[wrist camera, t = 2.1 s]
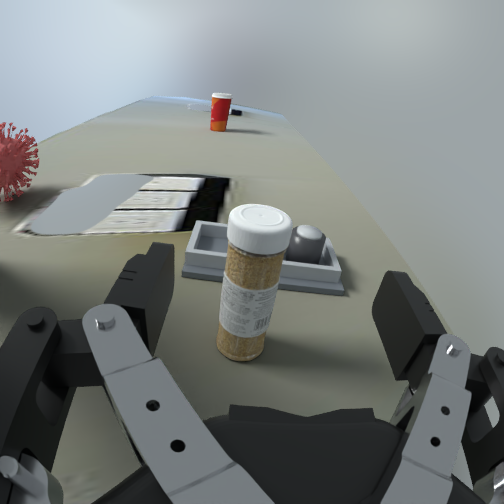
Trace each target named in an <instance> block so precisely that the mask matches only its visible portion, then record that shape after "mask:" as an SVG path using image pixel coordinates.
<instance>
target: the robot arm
mask: <svg viewBox="0 0 504 504" xmlns="http://www.w3.org/2000/svg"><path fill="white" fill-rule="evenodd" d="M173 289H174V245H173V244H166V243H158V242H153V243H152V245H151V247H150V248H149V250H148V252H147V254H146V255H143V254H137V255H135V256H134V257H133V258H131V259H130V260H128V261H127V263H126V265H125V267H124V268H123V271H122V272H121V273H120V275H119V277H118V279H117V280H116V282H115V284H114V286H113V287H112V289H111V291H110V293H109V295H108V296H107V298H106V300H105V302H104V304H101V305H98V306H95V307H93V308H91V309H90V310H88V311H87V312H86V314H85V315H84V317H83V319H78V320H62V321H58V320H57V317H56V314H55V313H54V312H53V311H52V310H51V309H49V308H46V307H35V308H32V309H29V310H27V311H25V312H24V313H23V314H22V315H21V316H20V317H19V318H18V320H17V321H16V323H15V324H14V326H13V328H12V329H11V331H10V333H9V334H8V336H7V338H6V339H5V341H4V343H3V344H2V346H1V348H0V504H63V490H62V487H61V484H60V483H59V481H58V480H57V479H56V478H55V477H54V476H53V475H52V474H51V471H52V467H53V463H54V459H55V456H56V452H57V448H58V445H59V441H60V438H61V434H62V431H63V428H64V425H65V421H66V418H67V415H68V412H69V409H70V406H71V403H72V400H73V397H74V394H75V391H76V388H77V387H84V386H102V387H103V390H104V392H105V394H106V396H107V399H108V401H109V403H110V405H111V408H112V410H113V412H114V414H115V416H116V418H117V420H118V422H119V424H120V426H121V428H122V431H123V433H124V435H125V437H126V439H127V441H128V443H129V445H130V447H131V449H132V451H133V453H134V455H135V457H136V458H137V460H138V462H139V464H140V465H141V467H140V468H139V469H138V470H137V471H135V472H134V473H133V474H131V475H130V476H129V477H127V478H126V479H125V480H123V481H122V482H121V483H119V484H118V485H117V486H115V487H114V488H112V489H111V490H110V491H108V492H107V493H106V494H104V495H103V496H101V497H100V498H99V499H97V500H96V501H94V502H93V503H91V504H504V350H502V349H500V348H497V347H491V348H489V349H488V351H487V352H486V354H485V355H484V356H478V355H475V354H472V353H470V350H469V347H468V346H467V344H466V343H465V342H464V341H463V340H462V339H460V338H459V337H457V336H455V335H452V334H447V332H446V330H445V329H444V327H443V325H442V323H441V322H440V320H439V318H438V316H437V315H436V313H435V312H434V309H433V308H432V306H431V305H430V303H429V301H428V299H427V298H426V296H425V294H424V293H423V292H422V291H420V290H419V289H418V288H417V287H416V286H414V284H413V282H412V281H411V279H410V277H409V276H408V274H407V273H405V272H398V271H387V272H386V273H385V275H384V277H383V280H382V282H381V285H380V287H379V290H378V292H377V295H376V297H375V299H374V302H373V306H372V316H373V319H374V322H375V325H376V327H377V330H378V332H379V335H380V338H381V340H382V343H383V346H384V349H385V351H386V354H387V357H388V360H389V362H390V365H391V368H392V371H393V374H394V377H395V380H396V381H398V380H408V382H409V384H408V385H407V387H406V388H405V390H404V392H403V394H402V397H401V399H400V401H399V403H398V405H397V407H396V410H395V412H394V414H393V416H392V418H391V420H390V422H389V423H388V422H386V421H383V420H380V419H376V418H375V416H374V412H373V408H362V409H339V410H335V411H331V412H327V413H323V414H319V415H315V416H310V417H303V416H299V415H294V414H290V413H287V412H283V411H279V410H275V409H271V408H268V407H253V406H241V405H230V408H229V415H222V416H217V417H213V418H210V419H207V420H204V421H201V419H200V418H199V416H198V415H197V413H196V412H195V411H194V409H193V408H192V406H191V405H190V403H189V402H188V401H187V399H186V398H185V396H184V395H183V393H182V392H181V390H180V389H179V387H178V386H177V384H176V383H175V381H174V379H173V378H172V376H171V375H170V373H169V372H168V370H167V369H166V367H165V365H164V364H163V362H162V361H161V360H160V359H159V358H158V357H155V358H153V356H154V352H155V349H156V346H157V342H158V339H159V336H160V333H161V329H162V326H163V323H164V320H165V317H166V314H167V311H168V307H169V304H170V301H171V298H172V295H173ZM492 396H493V398H494V400H495V402H496V405H497V407H498V410H499V413H500V417H499V421H498V423H497V425H496V426H495V427H494V428H492V425H491V422H490V420H489V417H488V414H487V412H486V409H485V407H484V405H485V404H486V403H487V401H488V400H489V399H490V398H491V397H492ZM460 443H462V446H463V450H464V453H465V457H466V461H467V464H468V468H469V472H470V476H471V480H472V484H473V491H472V490H471V489H470V488H469V487H467V486H466V485H465V484H464V483H463V482H461V481H460V480H459V479H458V478H457V477H455V476H454V475H453V474H452V470H453V467H454V463H455V460H456V457H457V453H458V450H459V446H460Z"/></svg>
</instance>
